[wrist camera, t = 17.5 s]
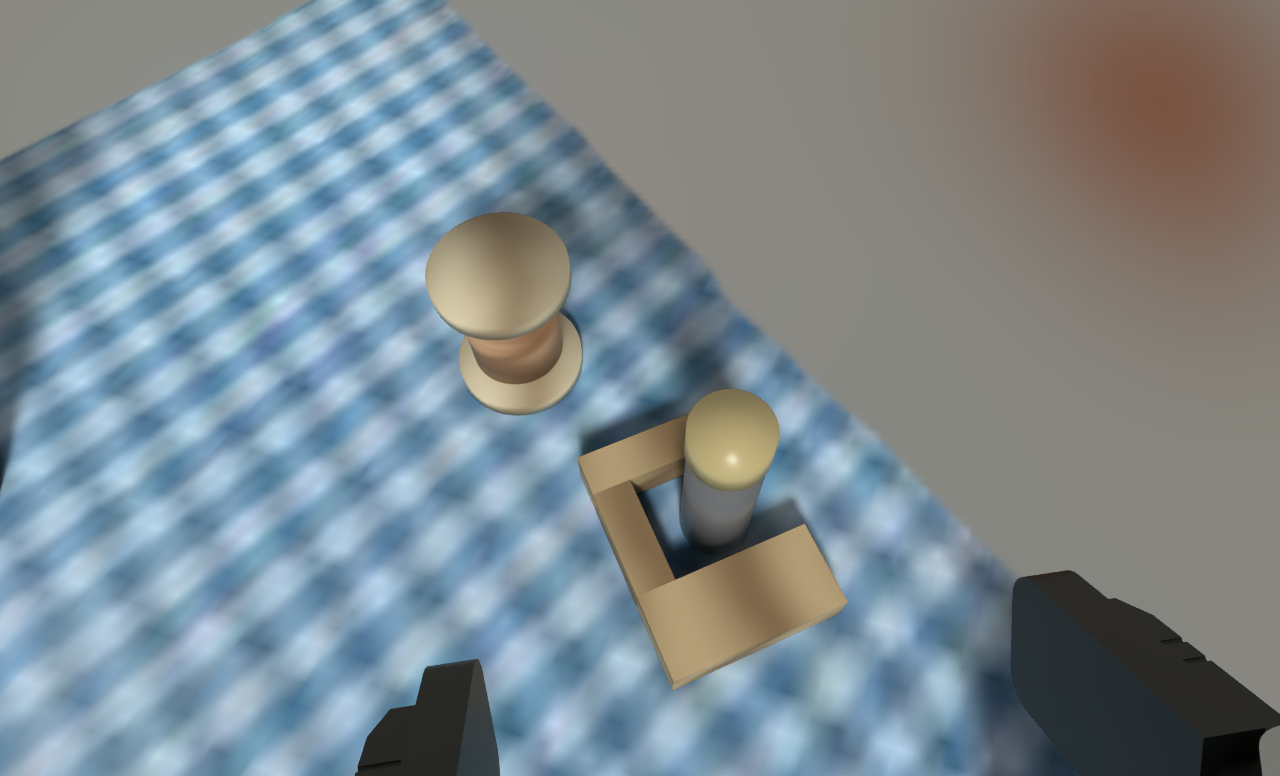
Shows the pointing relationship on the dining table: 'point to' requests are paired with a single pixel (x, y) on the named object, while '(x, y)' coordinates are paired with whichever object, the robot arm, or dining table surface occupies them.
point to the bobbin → (508, 310)
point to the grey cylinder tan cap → (725, 467)
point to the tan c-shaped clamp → (712, 596)
